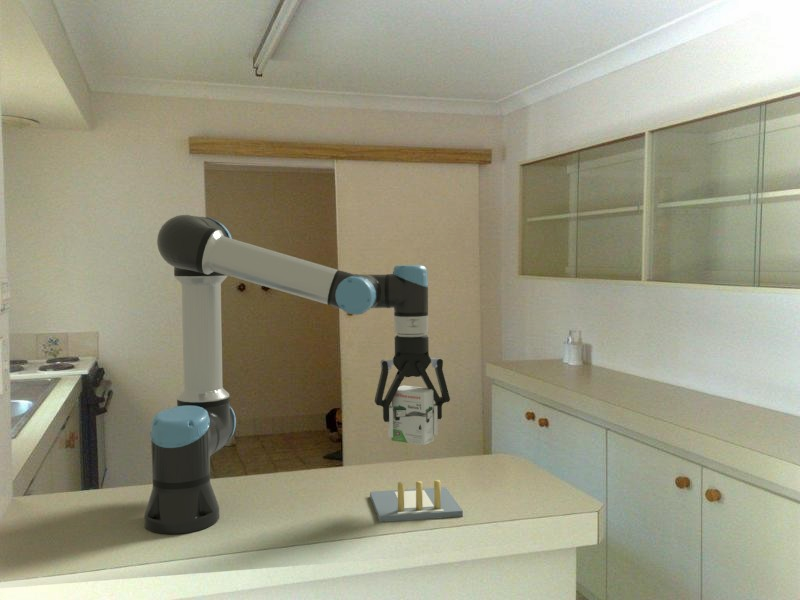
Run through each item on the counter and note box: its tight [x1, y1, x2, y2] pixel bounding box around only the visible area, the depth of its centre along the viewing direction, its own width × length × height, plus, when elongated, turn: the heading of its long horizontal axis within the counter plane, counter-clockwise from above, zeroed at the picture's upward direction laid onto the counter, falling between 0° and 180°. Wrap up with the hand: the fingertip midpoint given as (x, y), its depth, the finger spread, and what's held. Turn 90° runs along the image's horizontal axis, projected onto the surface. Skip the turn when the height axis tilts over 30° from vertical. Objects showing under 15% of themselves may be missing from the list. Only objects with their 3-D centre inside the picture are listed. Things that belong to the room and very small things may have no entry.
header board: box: [369, 479, 464, 523], centre depth 160 cm, size 18×16×7 cm
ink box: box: [391, 385, 435, 446], centre depth 160 cm, size 9×5×12 cm, turn 60°
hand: (412, 434), depth 160 cm, fingers closed on ink box, 9 cm apart
